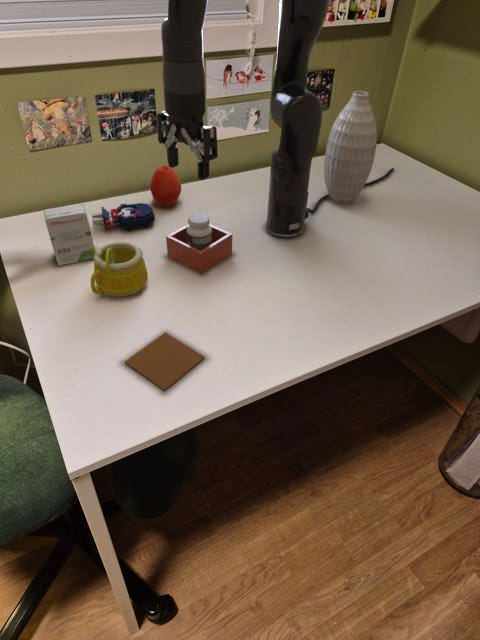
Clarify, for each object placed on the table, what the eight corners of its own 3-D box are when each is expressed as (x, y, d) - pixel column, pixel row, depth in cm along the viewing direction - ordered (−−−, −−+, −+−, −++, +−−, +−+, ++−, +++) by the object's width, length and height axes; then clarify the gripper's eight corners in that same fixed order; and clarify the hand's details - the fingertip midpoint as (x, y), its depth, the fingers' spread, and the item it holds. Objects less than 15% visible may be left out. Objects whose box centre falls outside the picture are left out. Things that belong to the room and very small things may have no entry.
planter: (198, 238, 114) (197, 218, 111) (232, 254, 109) (232, 233, 106) (167, 256, 108) (165, 236, 104) (201, 274, 103) (200, 253, 100)
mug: (125, 264, 105) (117, 216, 97) (159, 283, 100) (153, 234, 92) (77, 290, 98) (65, 240, 90) (111, 312, 93) (101, 262, 85)
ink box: (93, 248, 110) (83, 202, 102) (97, 259, 107) (87, 212, 99) (55, 255, 107) (42, 208, 100) (57, 266, 104) (44, 219, 96)
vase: (370, 197, 133) (395, 91, 115) (353, 215, 125) (377, 104, 107) (330, 185, 138) (346, 82, 120) (311, 202, 130) (326, 94, 112)
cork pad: (165, 334, 88) (165, 332, 88) (204, 358, 84) (204, 356, 84) (124, 363, 83) (124, 361, 82) (164, 391, 78) (164, 389, 78)
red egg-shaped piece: (177, 212, 124) (175, 173, 117) (147, 209, 125) (143, 170, 118) (185, 198, 130) (183, 160, 123) (156, 195, 131) (153, 157, 124)
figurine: (90, 204, 117) (150, 198, 120) (93, 219, 120) (151, 212, 123) (92, 221, 111) (155, 214, 114) (95, 236, 114) (156, 229, 117)
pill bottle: (187, 249, 111) (185, 211, 104) (211, 248, 111) (211, 210, 105) (187, 262, 106) (185, 224, 100) (212, 262, 107) (212, 223, 100)
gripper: (227, 90, 83) (226, 177, 94) (172, 74, 90) (177, 157, 101) (197, 98, 79) (200, 189, 89) (142, 81, 86) (150, 167, 96)
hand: (188, 172), depth 95 cm, fingers open, 8 cm apart
